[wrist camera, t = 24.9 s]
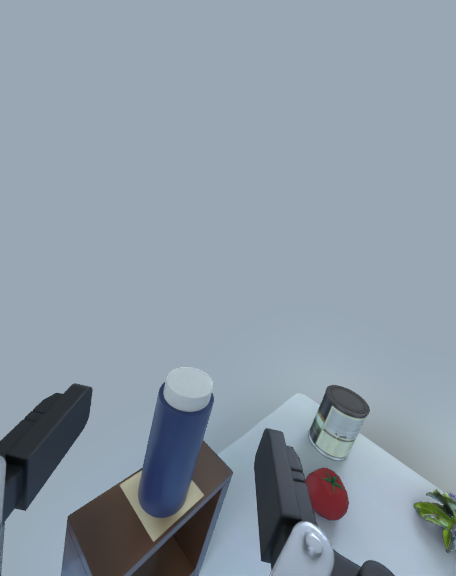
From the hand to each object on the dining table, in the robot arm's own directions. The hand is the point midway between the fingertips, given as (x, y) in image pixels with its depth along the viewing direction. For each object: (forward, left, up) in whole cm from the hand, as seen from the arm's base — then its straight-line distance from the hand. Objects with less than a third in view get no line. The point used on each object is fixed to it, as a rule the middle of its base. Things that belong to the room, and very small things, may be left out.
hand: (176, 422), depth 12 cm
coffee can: (+54, -25, -40) cm, 72 cm away
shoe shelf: (+11, +3, -40) cm, 42 cm away
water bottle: (+11, +3, -20) cm, 23 cm away
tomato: (+36, -22, -40) cm, 58 cm away
